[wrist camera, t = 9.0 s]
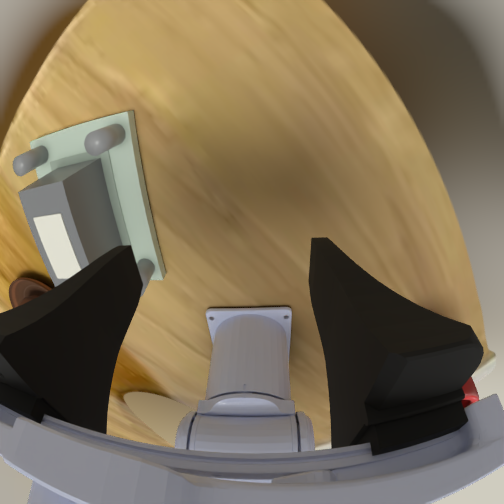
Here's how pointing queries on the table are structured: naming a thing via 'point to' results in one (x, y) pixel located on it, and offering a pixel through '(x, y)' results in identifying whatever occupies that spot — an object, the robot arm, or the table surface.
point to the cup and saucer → (26, 291)
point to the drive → (71, 218)
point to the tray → (107, 179)
